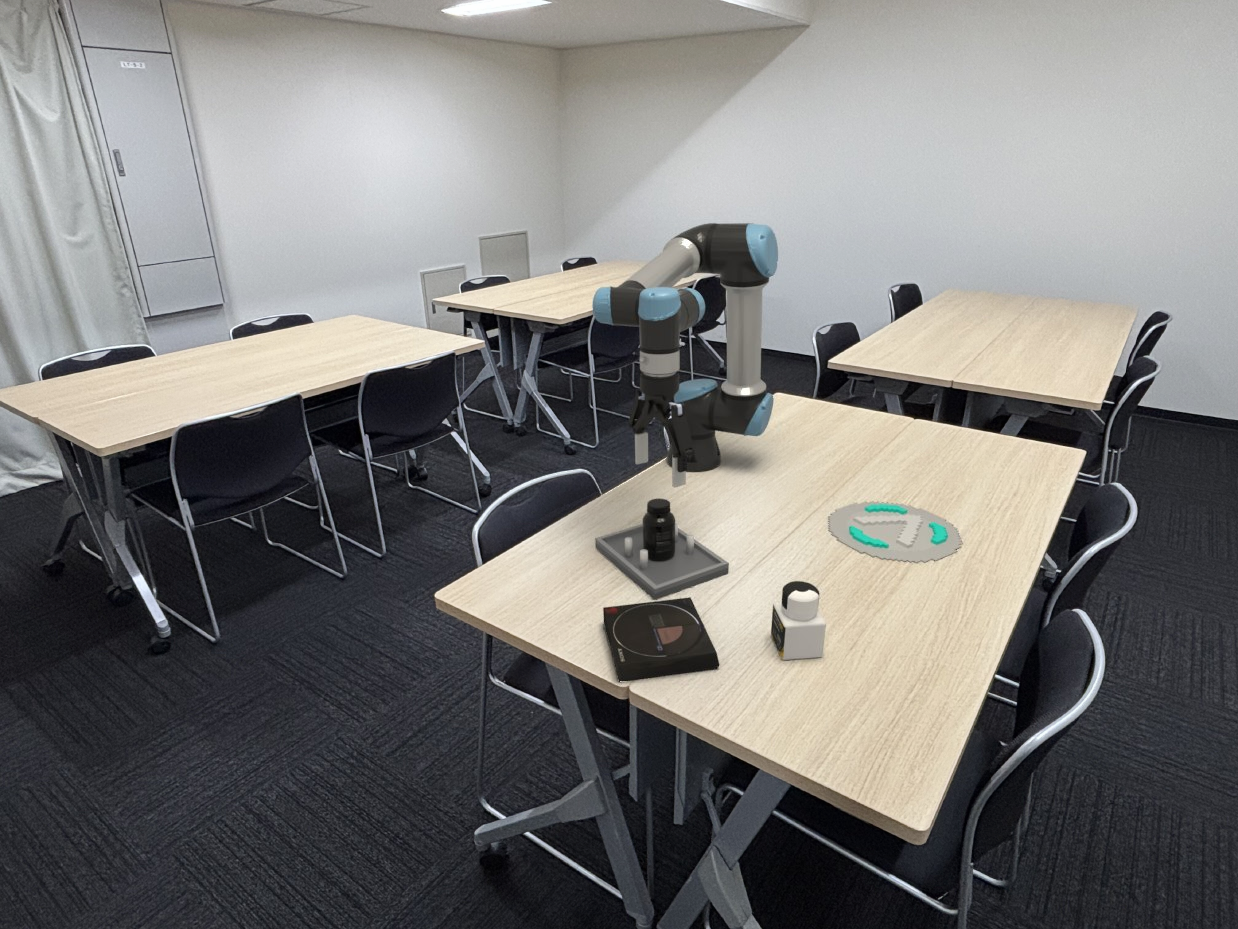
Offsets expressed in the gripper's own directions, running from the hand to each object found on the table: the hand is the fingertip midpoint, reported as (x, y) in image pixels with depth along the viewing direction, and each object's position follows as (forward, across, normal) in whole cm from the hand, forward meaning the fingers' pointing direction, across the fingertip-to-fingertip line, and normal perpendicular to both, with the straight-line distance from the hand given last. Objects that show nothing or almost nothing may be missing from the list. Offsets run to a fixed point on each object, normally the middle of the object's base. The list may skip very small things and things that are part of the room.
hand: (659, 473), depth 143 cm
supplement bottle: (+19, 0, 0) cm, 19 cm away
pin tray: (+20, 0, 0) cm, 20 cm away
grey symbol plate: (+21, +18, +52) cm, 59 cm away
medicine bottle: (+20, +37, +4) cm, 42 cm away
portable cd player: (+21, +24, -16) cm, 36 cm away
